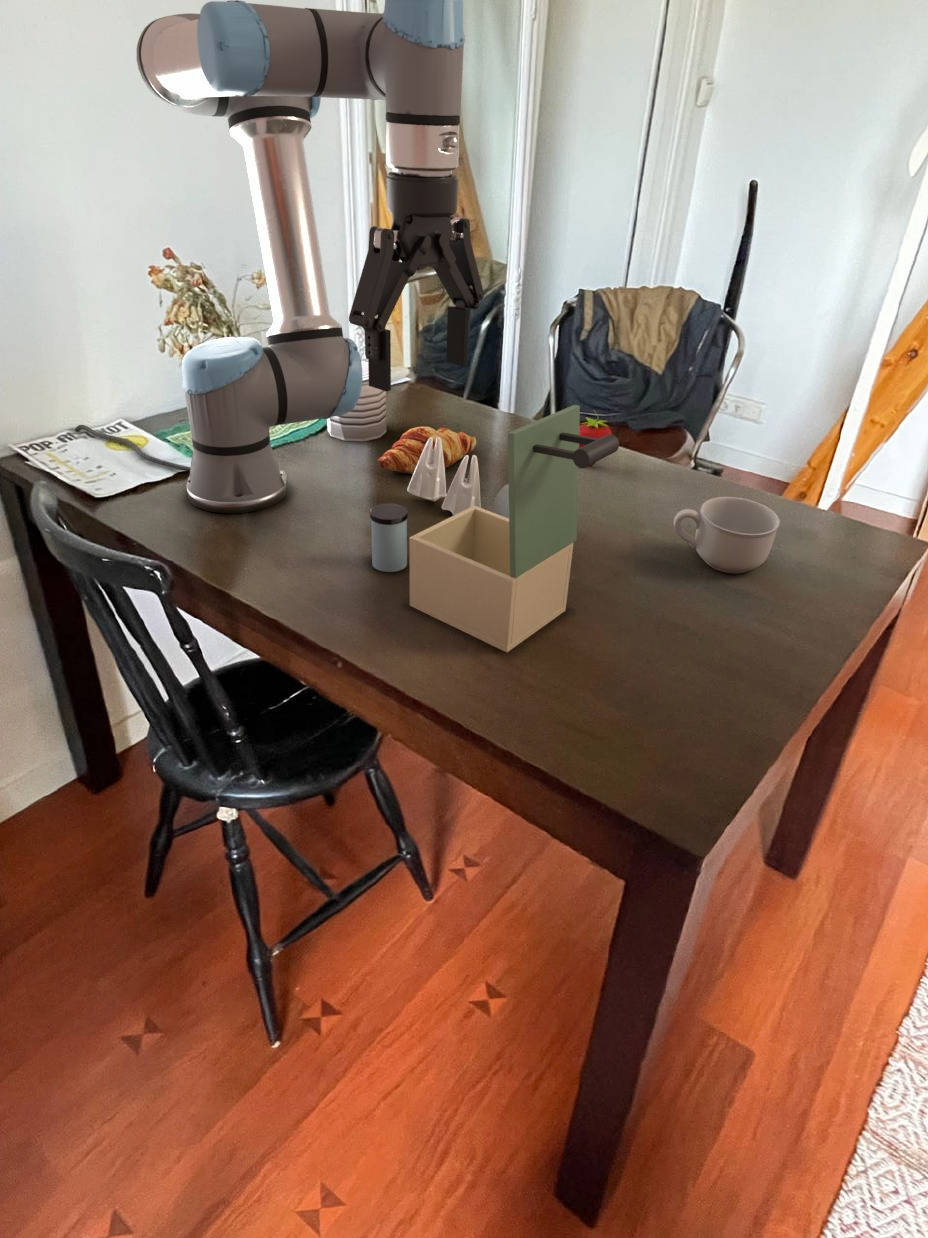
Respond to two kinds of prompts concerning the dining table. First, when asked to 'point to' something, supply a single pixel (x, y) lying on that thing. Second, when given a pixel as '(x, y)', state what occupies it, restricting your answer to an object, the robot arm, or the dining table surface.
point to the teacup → (731, 533)
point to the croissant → (413, 444)
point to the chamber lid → (547, 485)
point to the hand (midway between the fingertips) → (419, 375)
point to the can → (362, 414)
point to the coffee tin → (389, 537)
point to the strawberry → (593, 430)
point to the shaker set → (432, 480)
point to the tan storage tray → (484, 580)
